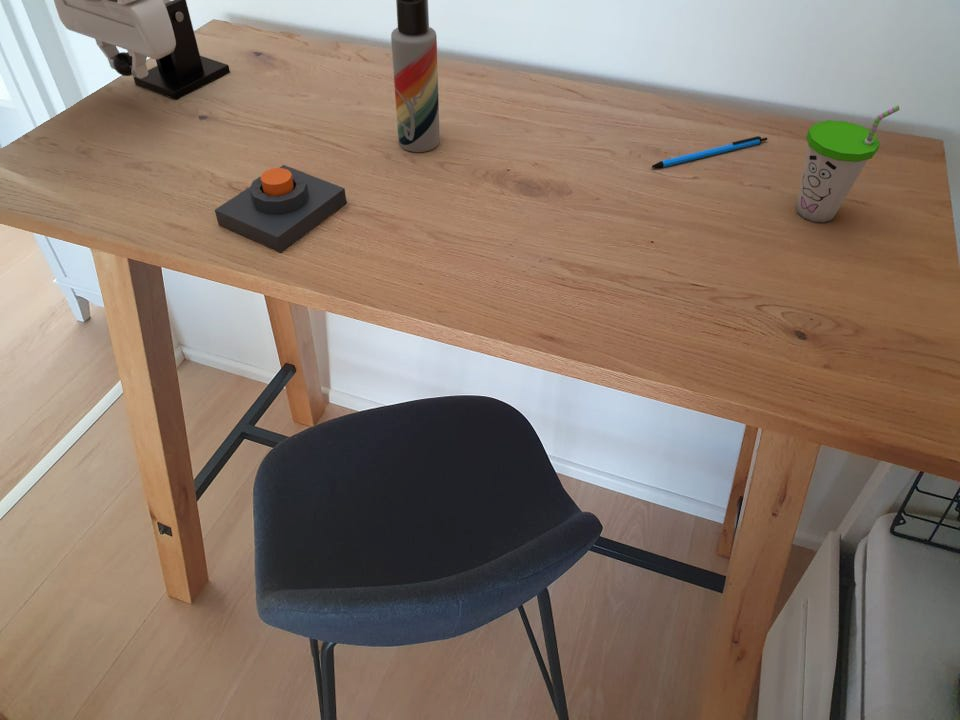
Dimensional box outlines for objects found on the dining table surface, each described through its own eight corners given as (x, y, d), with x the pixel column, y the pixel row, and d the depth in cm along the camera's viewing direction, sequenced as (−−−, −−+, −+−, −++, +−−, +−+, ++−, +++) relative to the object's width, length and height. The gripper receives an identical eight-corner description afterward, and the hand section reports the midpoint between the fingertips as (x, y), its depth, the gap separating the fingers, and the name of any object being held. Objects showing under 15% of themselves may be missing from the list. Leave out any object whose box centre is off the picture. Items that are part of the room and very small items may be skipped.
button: (279, 200, 89) (276, 187, 88) (256, 191, 91) (253, 178, 90) (300, 186, 92) (298, 173, 90) (277, 177, 93) (275, 164, 92)
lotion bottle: (393, 150, 105) (381, -2, 90) (405, 129, 108) (396, -19, 94) (433, 155, 104) (427, 3, 89) (444, 135, 108) (440, -15, 93)
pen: (767, 143, 107) (770, 135, 106) (651, 171, 102) (653, 164, 101) (763, 140, 108) (765, 132, 107) (648, 168, 102) (649, 160, 101)
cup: (769, 207, 96) (806, 93, 85) (809, 188, 99) (850, 76, 88) (820, 238, 91) (867, 122, 81) (861, 217, 94) (911, 102, 84)
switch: (133, 83, 110) (118, 67, 107) (118, 77, 111) (103, 61, 108) (184, 16, 113) (172, -1, 110) (169, 11, 114) (156, -6, 111)
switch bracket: (176, 99, 114) (153, 19, 106) (135, 84, 117) (109, 5, 109) (230, 72, 121) (212, -6, 112) (189, 58, 124) (169, -19, 116)
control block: (280, 252, 88) (274, 224, 85) (218, 225, 92) (210, 196, 89) (346, 203, 95) (343, 175, 93) (286, 179, 99) (281, 151, 96)
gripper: (25, -37, 103) (65, 63, 113) (128, -6, 95) (161, 99, 105) (64, -51, 107) (100, 47, 116) (167, -22, 99) (196, 80, 109)
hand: (130, 72), depth 111 cm, fingers closed on switch, 3 cm apart
